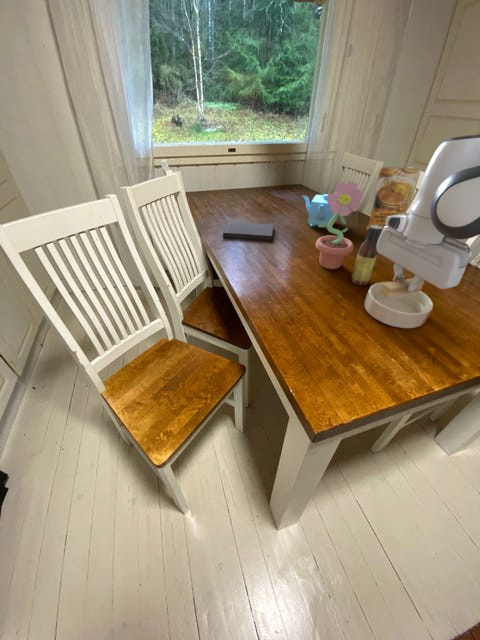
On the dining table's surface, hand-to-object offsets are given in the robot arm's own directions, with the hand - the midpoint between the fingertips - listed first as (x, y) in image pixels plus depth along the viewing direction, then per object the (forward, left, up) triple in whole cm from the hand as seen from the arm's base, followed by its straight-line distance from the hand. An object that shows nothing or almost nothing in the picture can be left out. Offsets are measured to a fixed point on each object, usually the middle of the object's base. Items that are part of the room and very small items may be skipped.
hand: (403, 285), depth 65 cm
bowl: (0, -15, -17) cm, 22 cm away
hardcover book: (+72, -42, -17) cm, 85 cm away
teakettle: (+48, -74, -17) cm, 90 cm away
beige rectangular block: (0, 0, -2) cm, 2 cm away
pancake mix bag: (+20, -86, -17) cm, 90 cm away
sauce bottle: (+14, -27, -17) cm, 34 cm away
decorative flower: (+28, -33, -17) cm, 46 cm away
